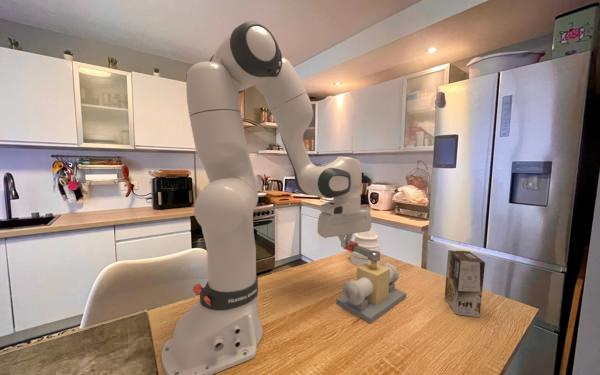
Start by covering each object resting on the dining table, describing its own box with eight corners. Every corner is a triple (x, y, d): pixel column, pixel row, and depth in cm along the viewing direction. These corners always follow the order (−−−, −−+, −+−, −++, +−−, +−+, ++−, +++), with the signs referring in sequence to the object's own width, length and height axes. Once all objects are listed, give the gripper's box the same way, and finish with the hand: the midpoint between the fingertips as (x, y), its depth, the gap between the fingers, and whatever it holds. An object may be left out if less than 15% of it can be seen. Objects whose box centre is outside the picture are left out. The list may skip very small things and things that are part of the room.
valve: (370, 323, 65) (372, 276, 64) (336, 303, 74) (337, 261, 73) (406, 297, 78) (408, 257, 76) (373, 283, 87) (374, 247, 86)
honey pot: (353, 254, 114) (354, 216, 112) (382, 258, 109) (384, 219, 107) (347, 264, 102) (348, 222, 101) (379, 270, 97) (381, 226, 96)
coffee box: (480, 318, 68) (486, 262, 66) (455, 314, 69) (460, 260, 68) (465, 300, 77) (470, 250, 75) (443, 297, 78) (447, 249, 77)
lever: (382, 260, 74) (383, 252, 74) (374, 262, 72) (375, 255, 72) (350, 246, 86) (350, 240, 85) (342, 248, 84) (342, 241, 83)
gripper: (363, 202, 88) (362, 239, 89) (315, 206, 78) (314, 248, 79) (376, 205, 82) (374, 245, 83) (326, 209, 72) (325, 254, 74)
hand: (345, 246), depth 81 cm, fingers closed
